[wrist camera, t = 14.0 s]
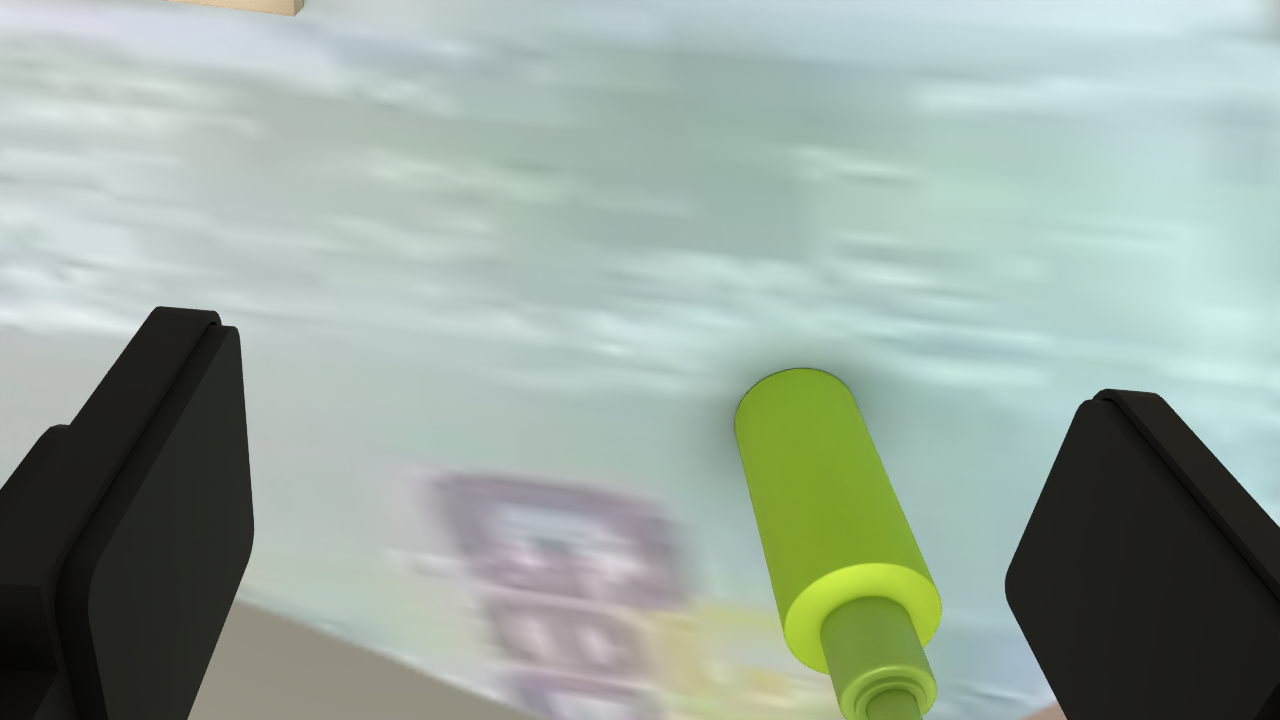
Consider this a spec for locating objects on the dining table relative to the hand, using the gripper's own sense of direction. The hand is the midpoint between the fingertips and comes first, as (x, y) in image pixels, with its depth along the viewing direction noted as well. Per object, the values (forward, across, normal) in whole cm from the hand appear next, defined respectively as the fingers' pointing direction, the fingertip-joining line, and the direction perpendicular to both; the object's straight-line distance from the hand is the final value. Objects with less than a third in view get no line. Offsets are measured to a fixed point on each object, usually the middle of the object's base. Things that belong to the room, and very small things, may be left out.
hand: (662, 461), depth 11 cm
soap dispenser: (+31, -12, +20) cm, 38 cm away
